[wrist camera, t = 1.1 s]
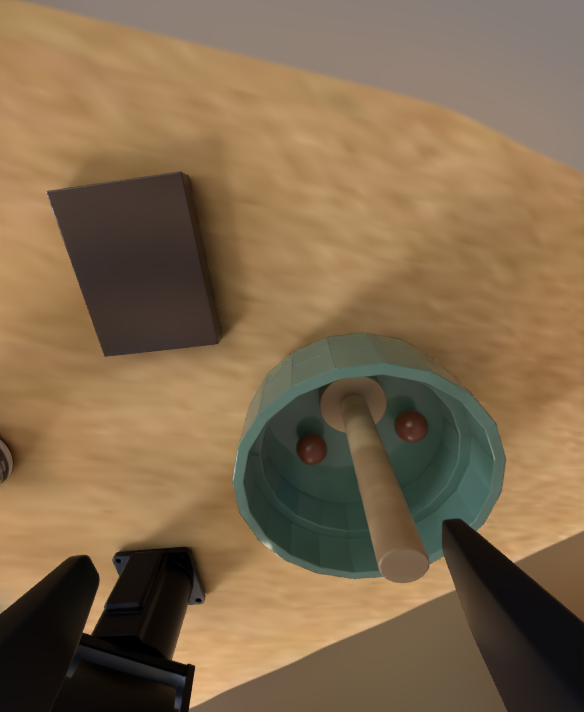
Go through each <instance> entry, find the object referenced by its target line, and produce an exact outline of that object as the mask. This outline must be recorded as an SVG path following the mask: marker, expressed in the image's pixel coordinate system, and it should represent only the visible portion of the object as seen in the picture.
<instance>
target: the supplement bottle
mask: <svg viewBox="0 0 584 712" xmlns="http://www.w3.org/2000/svg"><path fill="white" fill-rule="evenodd" d="M12 468H13V460H12V456H11V454H10V451H9V449H8V448H7V446H6V445H5V444H4V443H3V442H2V441H1V440H0V486H1V485H2V484H3V483H4V482H5V481H6V480H7V479H8V478H9V476H10V474H11V472H12Z"/></svg>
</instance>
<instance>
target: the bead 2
mask: <svg viewBox="0 0 584 712" xmlns="http://www.w3.org/2000/svg"><path fill="white" fill-rule="evenodd" d="M394 428H395V432H396V434H397V435H398V436H399V437H400V438H401V439H402V440H404V441H406V442H409V443H416V442H419V441H421V440H423V439H424V438H425V437H426V435H427V433H428V422H427V420H426V418H425V417H424V416H423V415H422V414H421V413H419V412H417V411H415V410H406V411H403V412H401V413H400V414H399V415H398V416H397V417H396V419H395V422H394Z"/></svg>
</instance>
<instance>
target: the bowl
mask: <svg viewBox="0 0 584 712" xmlns="http://www.w3.org/2000/svg"><path fill="white" fill-rule="evenodd" d="M365 376H375V377H376V378H377V379H378V381H379V382H380V384H381V386H382V388H383V390H384V392H385V395H386V400H387V404H386V410H385V412H384V414H383V416H382V418H381V419H380V420H379V422H378V423H377V424H375V425H376V427H377V430H378V432H379V435H380V437H381V440H382V442H383V445H384V447H385V450H386V452H387V455H388V457H389V460H390V462H391V465H392V467H393V470H394V472H395V475H396V477H397V480H398V482H399V485H400V487H401V490H402V492H403V495H404V497H405V500H406V502H407V505H408V507H409V510H410V512H411V515H412V517H413V520H414V522H415V525H416V527H417V530H418V532H419V535H420V537H421V540H422V542H423V545H424V547H425V550H426V552H427V555H428V557H429V564H431V563H432V562H434V561H436V560H438V559H440V558H441V557H443V556H444V554H443V550H442V522H443V520H445V519H455V518H459V519H462V520H463V521H465V522H466V523H467V524H468V525H469V526H470V527H472V528H473V529H474V530H475V531H477V530H478V529H479V528H480V527H481V526H482V525H483V524H484V523H485V521H486V519H487V517H488V516H489V514H490V512H491V510H492V508H493V507H494V505H495V503H496V501H497V499H498V498H499V496H500V494H501V492H502V485H503V478H504V471H505V463H506V456H505V452H504V449H503V445H502V442H501V438H500V435H499V431H498V428H497V424H496V422H495V421H494V420H493V419H492V417H491V416H490V415H489V414H488V413H487V411H486V410H485V409H484V408H483V406H482V405H481V404H480V403H479V402H478V400H477V399H476V398H475V397H474V396H473V394H472V393H471V392H470V391H469V390H467V389H466V388H465V387H464V386H463V385H462V384H461V383H460V382H459V381H458V380H457V379H456V378H455V377H454V376H453V375H451V374H450V373H449V372H448V371H447V370H446V369H445V368H444V367H443V366H442V365H441V364H440V363H439V362H438V361H437V360H436V359H434V358H433V357H432V356H430V355H429V354H427V353H425V352H423V351H421V350H420V349H418V348H416V347H414V346H413V345H411V344H409V343H407V342H406V341H404V340H401V339H396V338H391V337H386V336H381V335H375V334H370V333H358V334H349V335H340V336H331V337H327V338H324V339H322V340H319V341H317V342H315V343H312V344H310V345H308V346H305V347H303V348H301V349H298V350H296V351H294V352H293V353H291V354H290V355H289V356H287V357H286V358H285V359H284V360H283V361H282V362H281V363H279V364H278V365H277V366H276V367H275V368H274V369H272V370H271V371H270V372H269V373H268V374H267V375H266V376H265V378H264V379H263V381H262V383H261V385H260V386H259V388H258V390H257V392H256V393H255V395H254V397H253V398H252V400H251V402H250V405H249V408H248V412H247V416H246V419H245V423H244V427H243V430H242V434H241V438H240V441H239V445H238V449H237V455H236V461H235V467H234V474H233V480H232V481H233V482H232V483H233V487H234V491H235V495H236V499H237V504H238V508H239V512H240V514H241V516H242V517H243V519H244V520H245V522H246V523H247V524H248V526H249V527H250V529H251V530H252V532H253V533H254V535H255V536H256V538H257V539H258V540H259V541H260V542H261V543H262V544H264V545H265V546H266V547H268V548H269V549H270V550H272V551H273V552H274V553H275V554H277V555H278V556H279V557H281V558H282V559H283V560H286V561H287V562H290V563H292V564H295V565H297V566H300V567H302V568H305V569H307V570H310V571H312V572H315V573H318V574H324V575H330V576H337V577H344V578H350V579H361V578H376V577H383V576H382V574H381V573H380V571H379V569H378V565H377V561H376V556H375V552H374V548H373V544H372V540H371V535H370V531H369V527H368V523H367V519H366V515H365V510H364V506H363V502H362V498H361V494H360V492H359V490H358V481H357V477H356V473H355V468H354V464H353V460H352V456H351V452H350V447H349V443H348V439H347V435H346V433H345V432H341V431H338V430H336V429H334V428H332V427H331V426H330V425H328V424H327V423H326V421H325V420H324V419H323V417H322V414H321V411H320V405H319V391H320V388H321V386H324V385H326V384H329V383H331V382H334V381H336V380H339V379H346V378H355V377H365ZM406 410H415V411H417V412H419V413H421V414H422V415H423V416H424V417H425V418H426V420H427V422H428V433H427V435H426V437H425V438H424V439H423V440H421V441H419V442H416V443H409V442H406V441H404V440H402V439H401V438H400V437H399V436H398V435H397V434H396V432H395V428H394V422H395V419H396V417H397V416H398V415H399V414H400V413H401V412H403V411H406ZM307 433H316V434H319V435H320V436H321V437H323V439H324V440H325V442H326V444H327V454H326V457H325V458H324V460H323V461H322V462H320V463H319V464H316V465H308V464H305V463H304V462H302V461H301V460H300V459H299V457H298V455H297V452H296V445H297V442H298V440H299V439H300V437H302V436H303V435H304V434H307Z"/></svg>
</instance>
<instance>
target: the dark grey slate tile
mask: <svg viewBox="0 0 584 712" xmlns="http://www.w3.org/2000/svg"><path fill="white" fill-rule="evenodd" d="M47 195H48V198H49V201H50V204H51V207H52V209H53V212H54V215H55V218H56V221H57V223H58V226H59V229H60V232H61V235H62V237H63V240H64V243H65V246H66V249H67V252H68V254H69V257H70V260H71V263H72V266H73V268H74V271H75V274H76V277H77V280H78V282H79V285H80V288H81V291H82V294H83V297H84V299H85V302H86V305H87V308H88V311H89V313H90V316H91V319H92V322H93V325H94V327H95V330H96V333H97V336H98V339H99V342H100V344H101V347H102V350H103V353H104V356H105V357H107V356H116V355H125V354H134V353H143V352H152V351H161V350H170V349H179V348H187V347H196V346H205V345H214V344H219V342H220V341H221V339H222V338H223V337H222V332H221V327H220V323H219V318H218V313H217V308H216V304H215V299H214V294H213V289H212V284H211V280H210V275H209V270H208V265H207V261H206V256H205V251H204V246H203V242H202V237H201V232H200V227H199V223H198V218H197V213H196V208H195V204H194V199H193V194H192V189H191V185H190V180H189V176H188V175H186V174H184V173H182V172H174V173H167V174H160V175H154V176H147V177H140V178H133V179H126V180H119V181H112V182H106V183H99V184H92V185H85V186H78V187H71V188H64V189H58V190H51V191H47Z"/></svg>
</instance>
